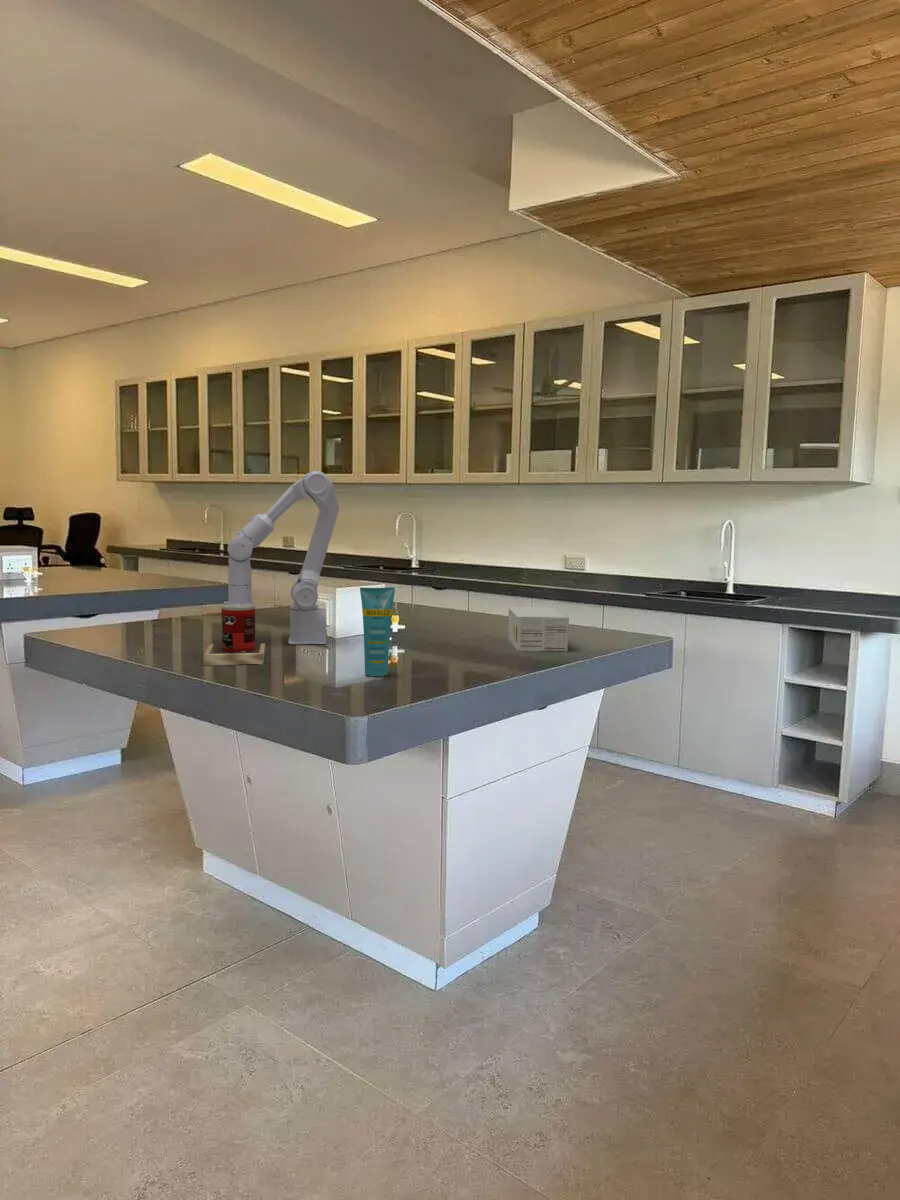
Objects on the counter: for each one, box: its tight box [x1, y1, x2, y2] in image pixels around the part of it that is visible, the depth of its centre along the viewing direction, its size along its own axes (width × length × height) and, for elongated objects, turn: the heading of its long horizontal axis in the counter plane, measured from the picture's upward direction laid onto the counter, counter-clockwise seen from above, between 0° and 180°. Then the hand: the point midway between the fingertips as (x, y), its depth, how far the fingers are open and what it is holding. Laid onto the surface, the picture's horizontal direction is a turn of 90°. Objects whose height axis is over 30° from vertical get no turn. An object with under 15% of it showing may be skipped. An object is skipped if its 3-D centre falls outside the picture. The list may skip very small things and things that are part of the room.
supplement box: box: [507, 606, 570, 651], centre depth 222 cm, size 17×13×9 cm
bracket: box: [203, 643, 266, 666], centre depth 198 cm, size 13×13×2 cm
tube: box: [359, 586, 396, 677], centre depth 183 cm, size 7×5×19 cm, turn 106°
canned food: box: [220, 604, 256, 653], centre depth 208 cm, size 8×8×11 cm
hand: (240, 637), depth 217 cm, fingers closed
